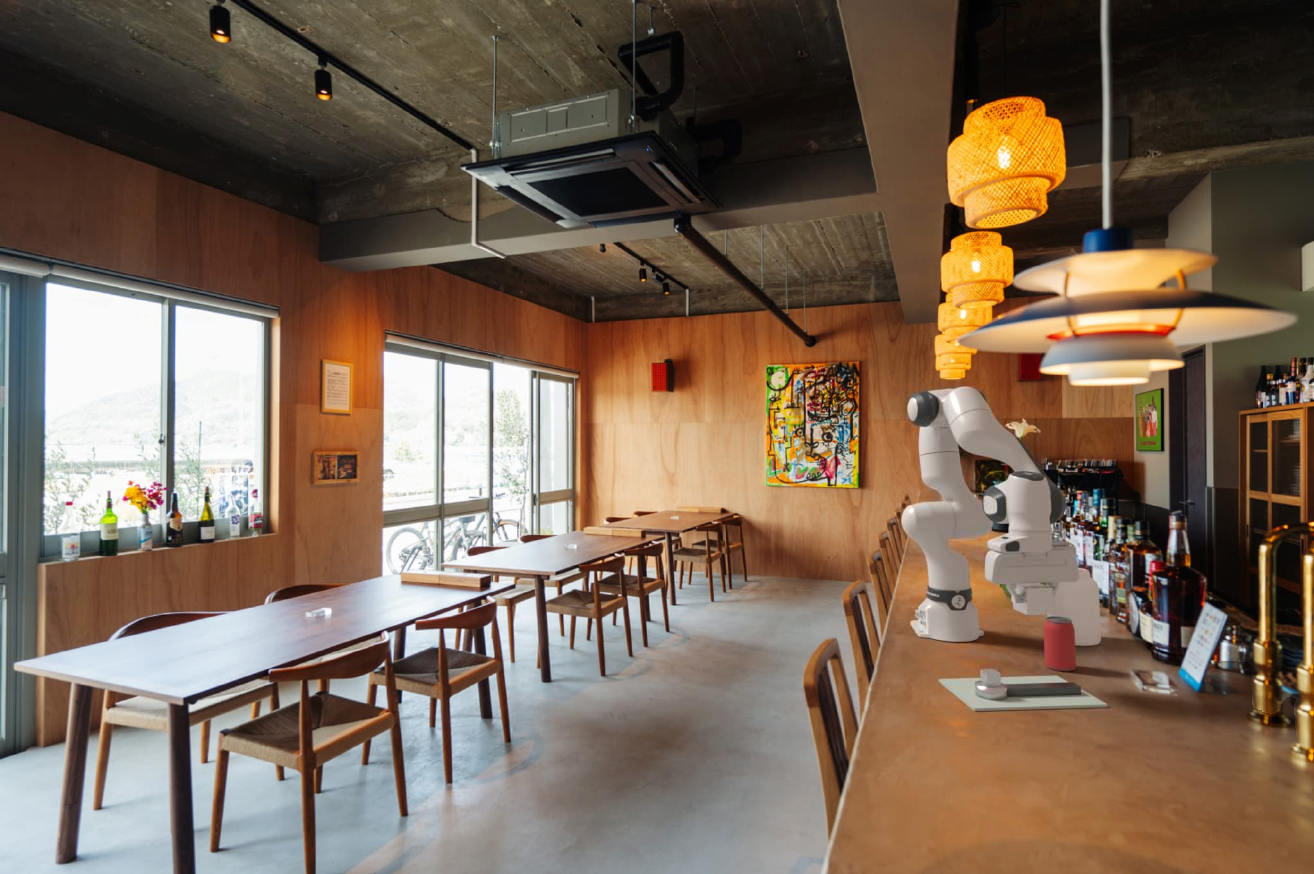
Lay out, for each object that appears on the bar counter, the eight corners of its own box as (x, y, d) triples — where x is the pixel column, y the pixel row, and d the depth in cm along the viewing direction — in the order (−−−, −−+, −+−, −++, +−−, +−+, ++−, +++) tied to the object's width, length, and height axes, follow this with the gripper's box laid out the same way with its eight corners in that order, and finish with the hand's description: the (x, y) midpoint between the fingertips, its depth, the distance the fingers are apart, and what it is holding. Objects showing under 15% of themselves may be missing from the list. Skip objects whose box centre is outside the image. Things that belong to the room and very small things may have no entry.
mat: (938, 681, 160) (938, 679, 160) (1057, 678, 160) (1056, 675, 160) (974, 711, 142) (974, 708, 142) (1107, 707, 142) (1107, 704, 142)
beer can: (1080, 672, 163) (1078, 622, 164) (1050, 671, 165) (1048, 622, 165) (1069, 664, 170) (1068, 616, 170) (1041, 663, 171) (1039, 615, 171)
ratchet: (969, 690, 153) (969, 667, 153) (1068, 687, 153) (1067, 664, 153) (983, 701, 146) (982, 676, 146) (1086, 697, 146) (1085, 673, 146)
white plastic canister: (1098, 637, 192) (1095, 566, 192) (1103, 649, 181) (1100, 574, 181) (1047, 632, 198) (1044, 563, 198) (1049, 644, 187) (1046, 571, 187)
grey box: (1013, 608, 159) (1012, 583, 159) (1038, 608, 159) (1037, 582, 159) (1027, 615, 153) (1026, 588, 153) (1053, 614, 153) (1052, 587, 153)
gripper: (1067, 538, 160) (1069, 597, 160) (980, 541, 160) (982, 600, 160) (1084, 542, 154) (1086, 604, 153) (993, 545, 153) (996, 606, 153)
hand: (1032, 602), depth 156 cm, fingers closed on grey box, 6 cm apart
